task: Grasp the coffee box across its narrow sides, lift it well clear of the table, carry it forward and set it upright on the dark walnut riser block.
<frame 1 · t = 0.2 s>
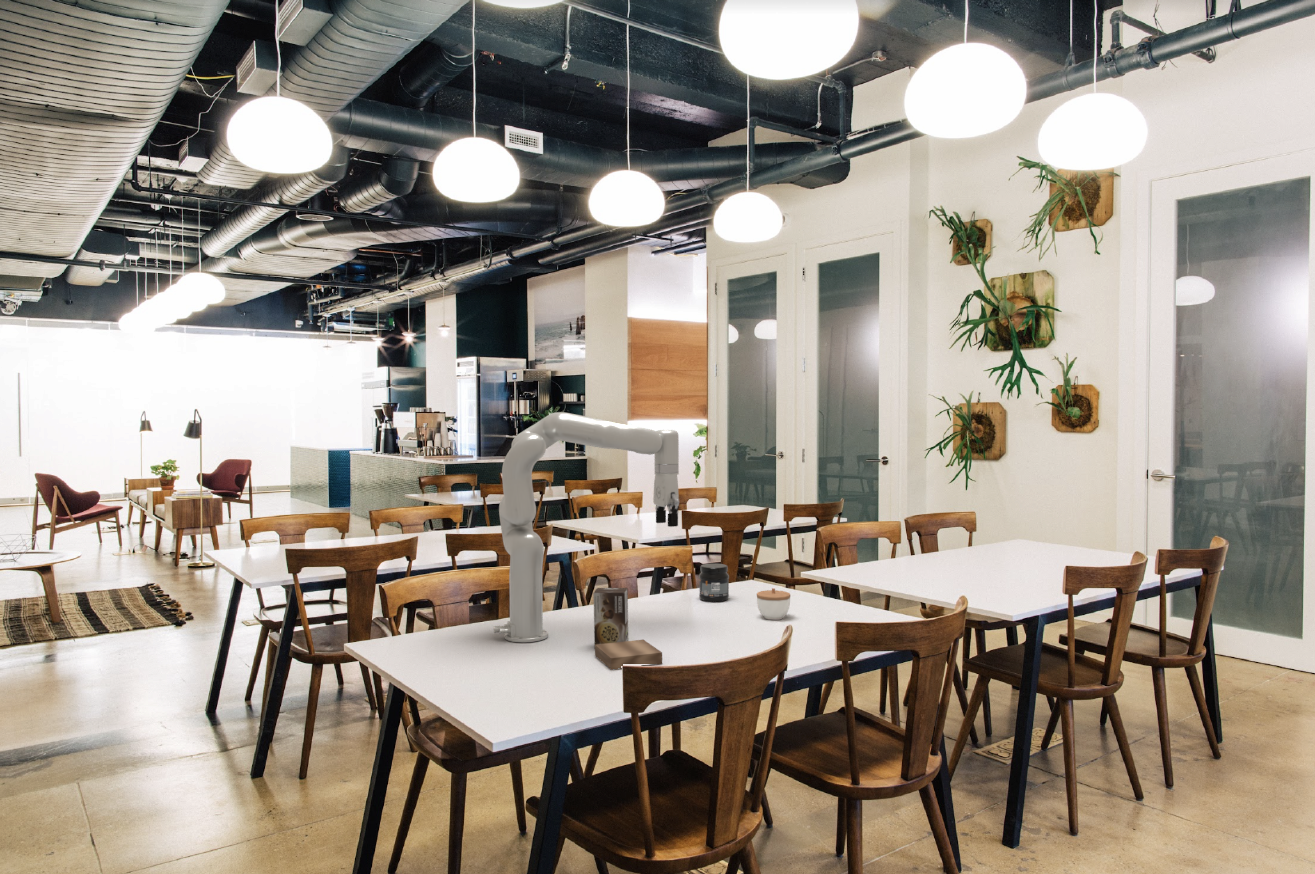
hand: (666, 524, 262), 31 cm above the table, tool pointing down, fingers open, 9 cm apart
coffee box: (611, 647, 237), on the table
lidded jar: (773, 618, 270), on the table
riser: (628, 659, 224), on the table
supplement container: (714, 600, 298), on the table
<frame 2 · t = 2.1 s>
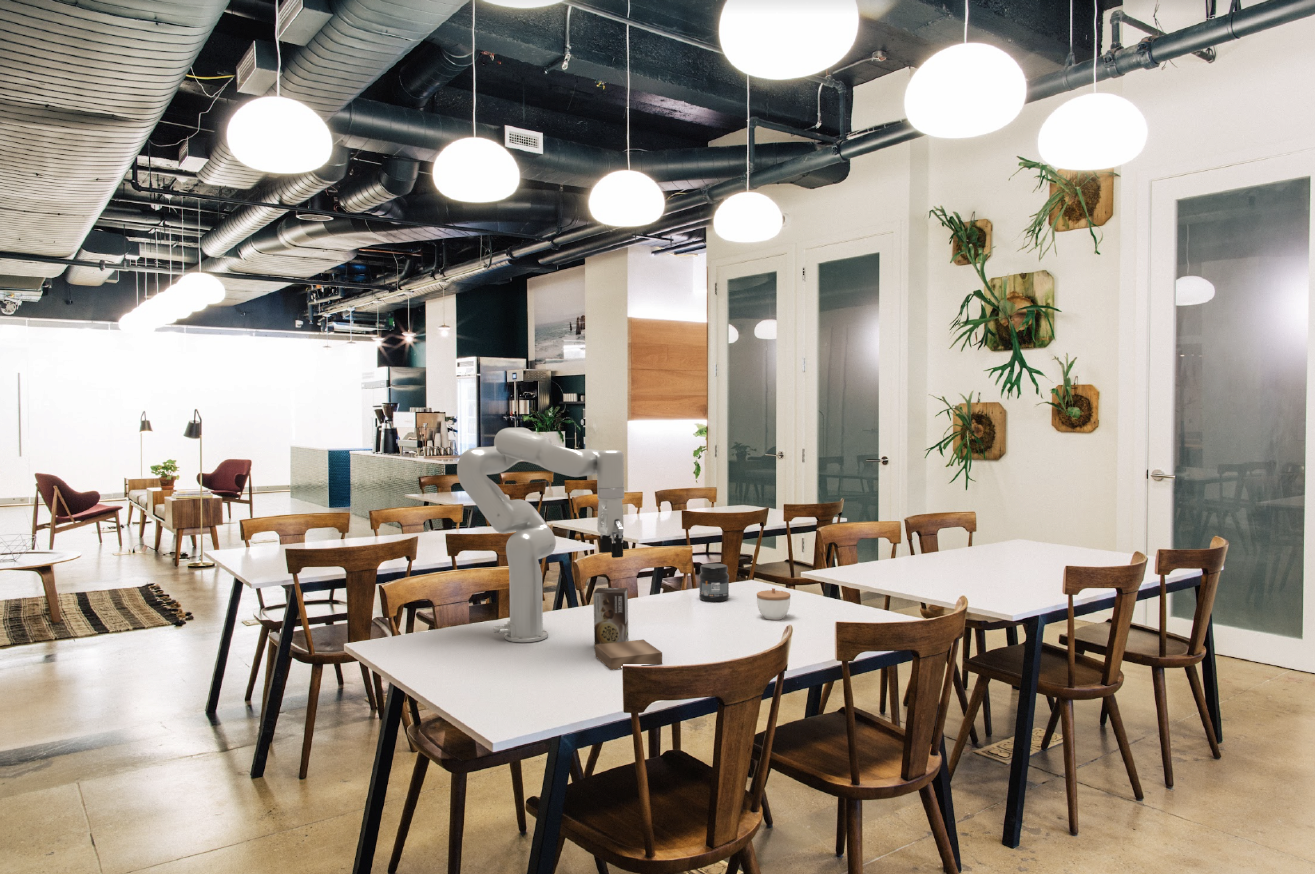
hand: (611, 554, 236), 26 cm above the table, tool pointing down, fingers open, 9 cm apart
nothing on the table moved.
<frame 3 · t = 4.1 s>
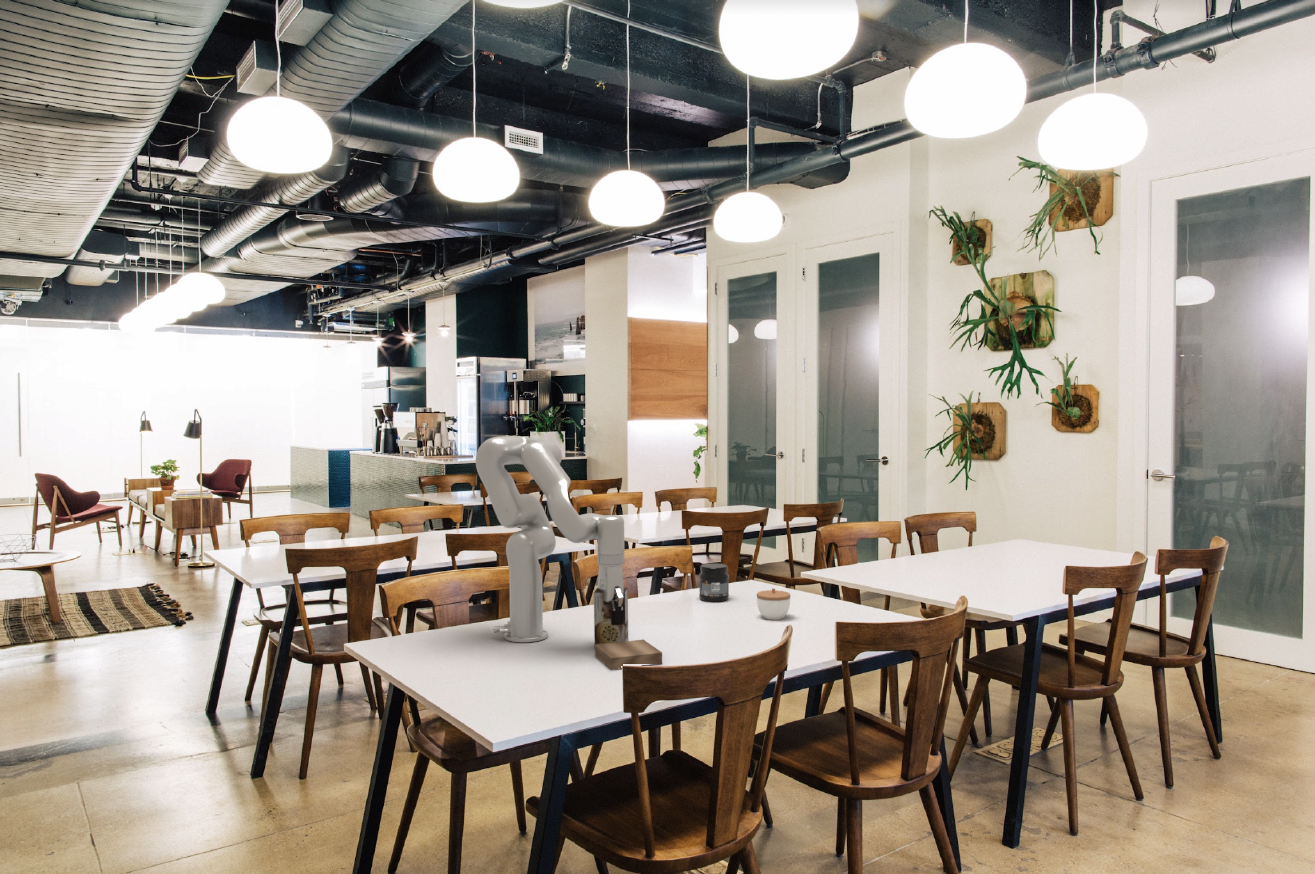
hand: (611, 620, 236), 7 cm above the table, tool pointing down, fingers closed on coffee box, 8 cm apart
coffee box: (611, 647, 237), on the table, touching gripper
everything else where it was.
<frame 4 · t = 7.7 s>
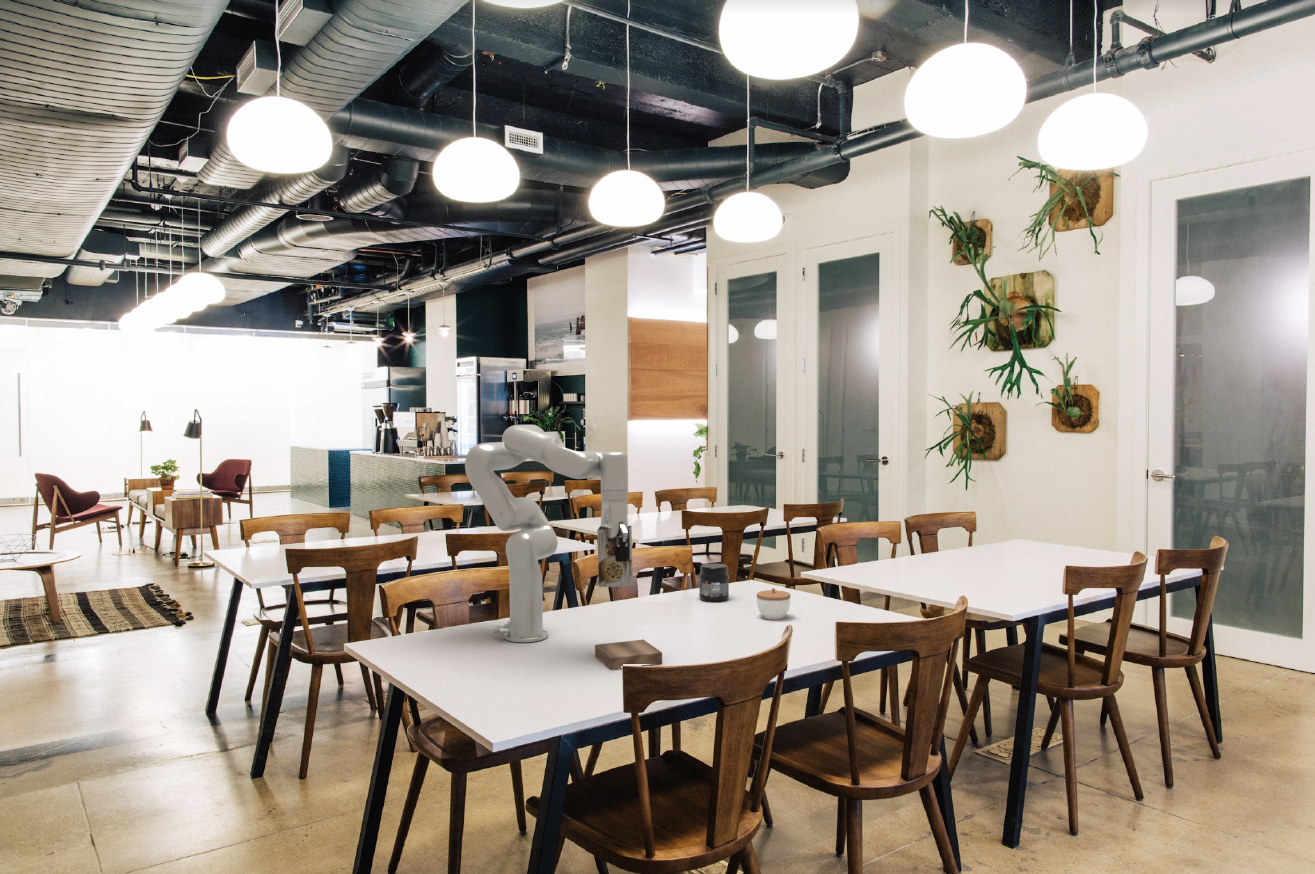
hand: (615, 558, 233), 25 cm above the table, tool pointing down, fingers closed on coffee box, 8 cm apart
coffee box: (615, 585, 233), point 18 cm above the table, touching gripper
everything else where it was.
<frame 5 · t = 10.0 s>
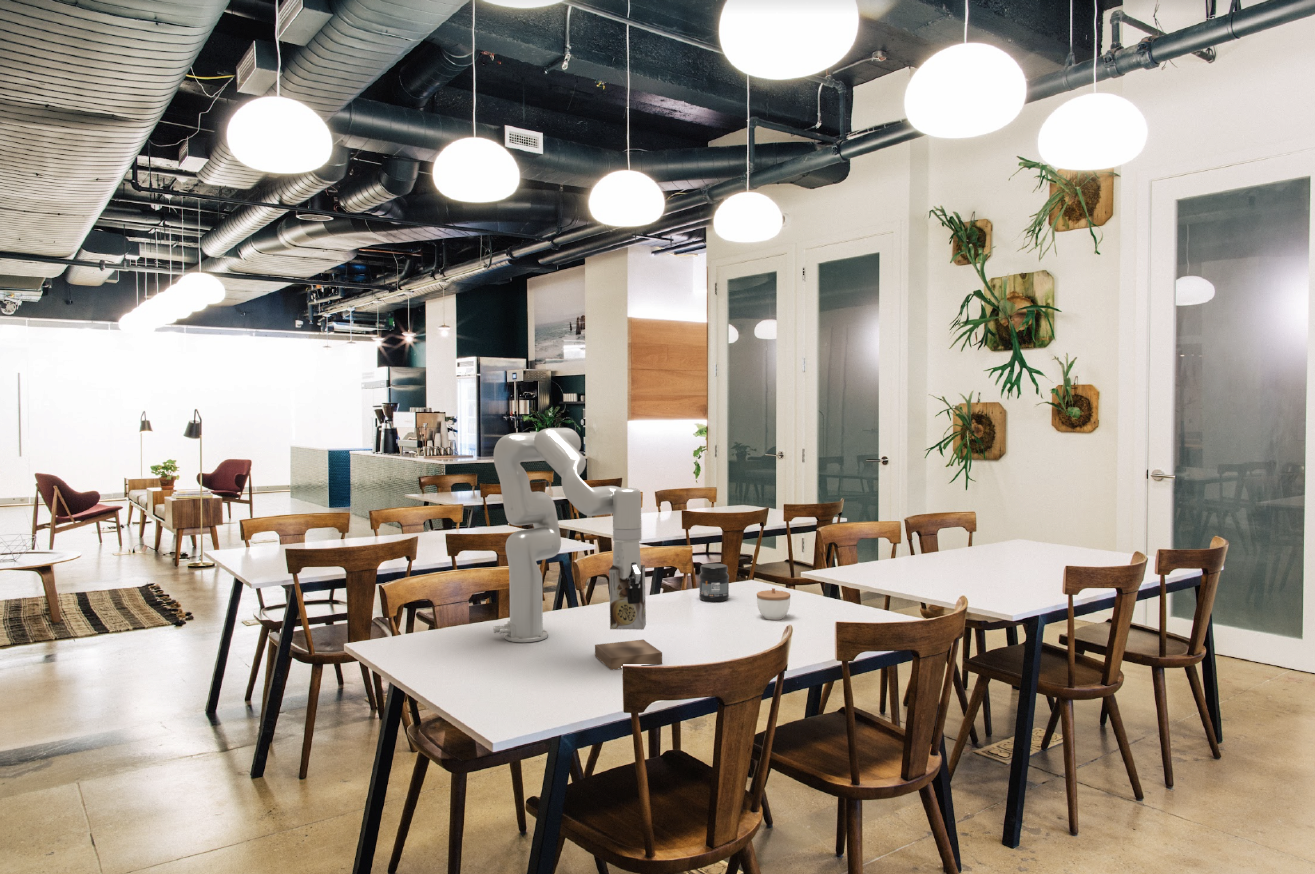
hand: (627, 599, 223), 16 cm above the table, tool pointing down, fingers closed on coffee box, 8 cm apart
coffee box: (628, 627, 223), point 9 cm above the table, touching gripper
everything else where it was.
when the fingers open (11 cm above the table, at t = 11.6 s): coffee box drops 1 cm, resting on riser.
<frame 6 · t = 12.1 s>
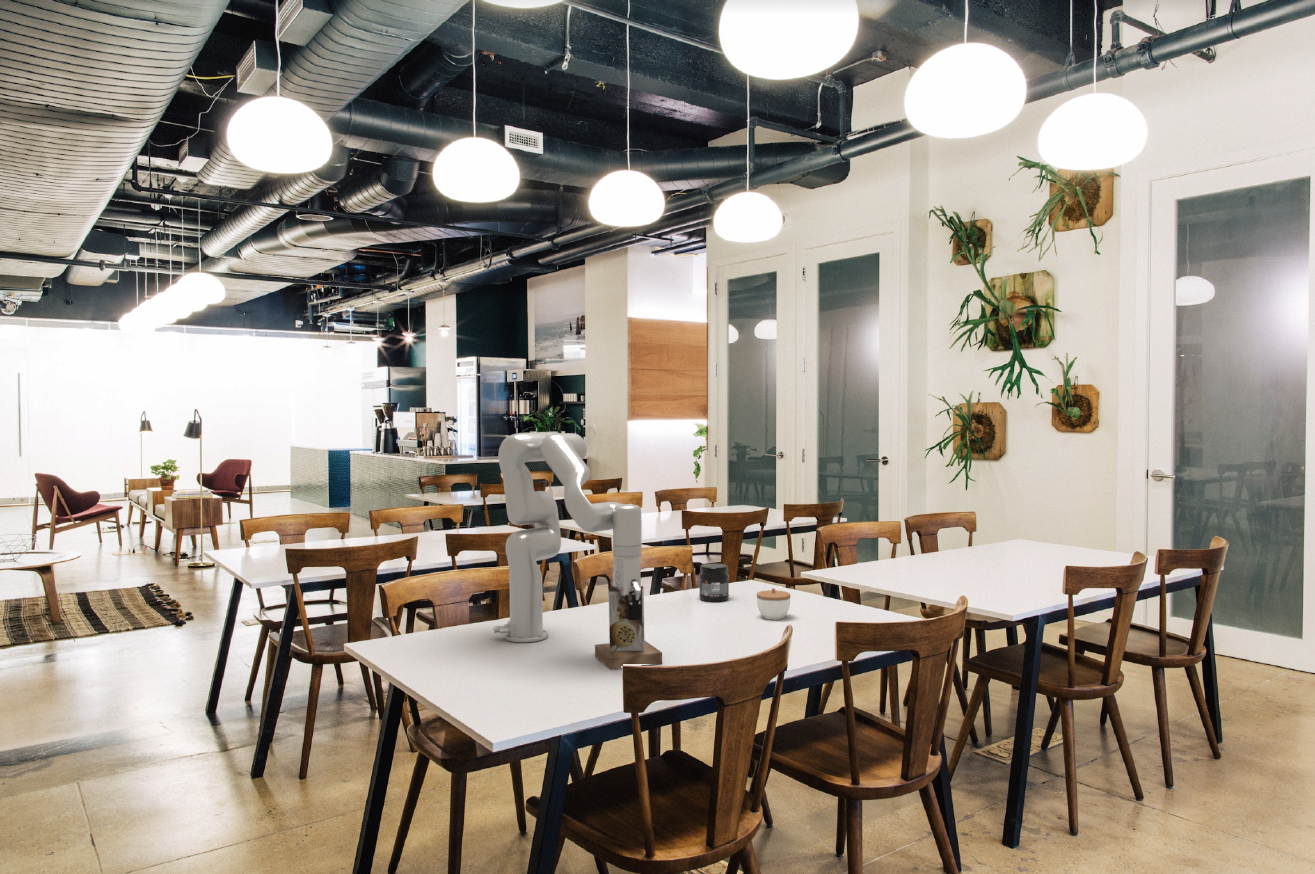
hand: (627, 615, 223), 12 cm above the table, tool pointing down, fingers open, 9 cm apart
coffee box: (627, 649, 224), point 3 cm above the table, touching riser
everything else where it was.
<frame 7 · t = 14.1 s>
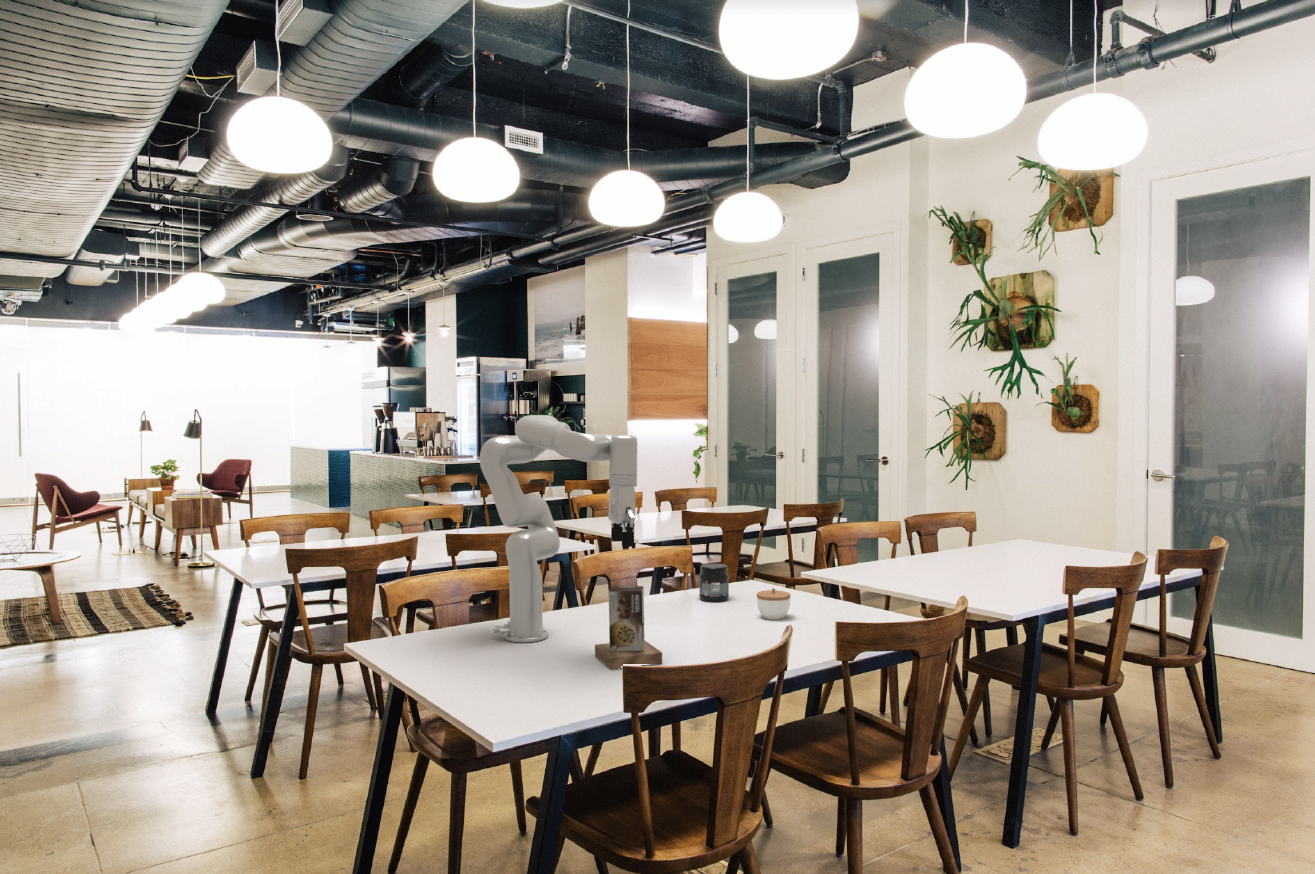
hand: (622, 543, 227), 30 cm above the table, tool pointing down, fingers open, 9 cm apart
nothing on the table moved.
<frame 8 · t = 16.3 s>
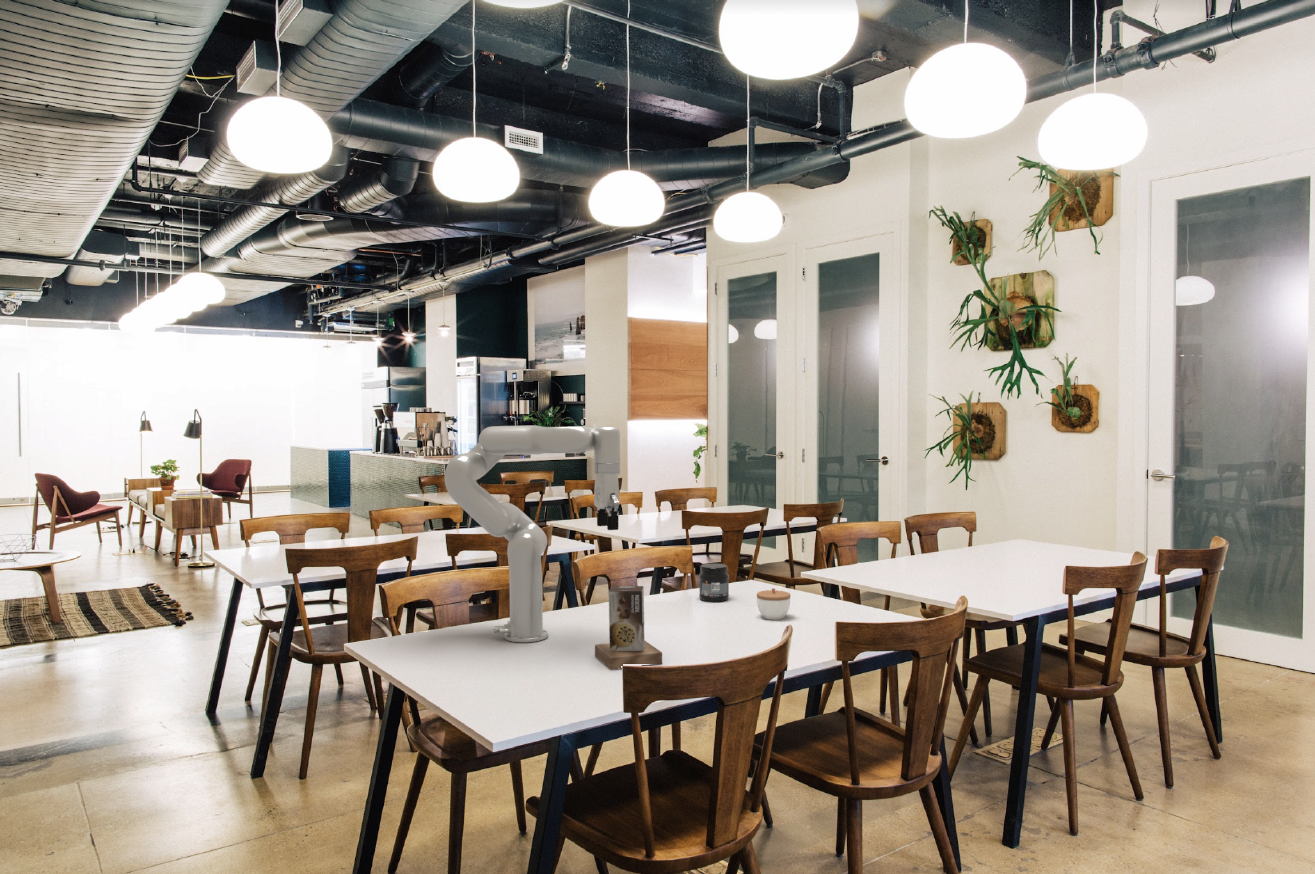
hand: (607, 527, 245), 32 cm above the table, tool pointing down, fingers open, 9 cm apart
nothing on the table moved.
at the end: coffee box inside the target area on the riser (0.3 cm from its centre), point 2.8 cm above the riser's base; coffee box tilted 0°; the gripper is holding nothing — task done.
